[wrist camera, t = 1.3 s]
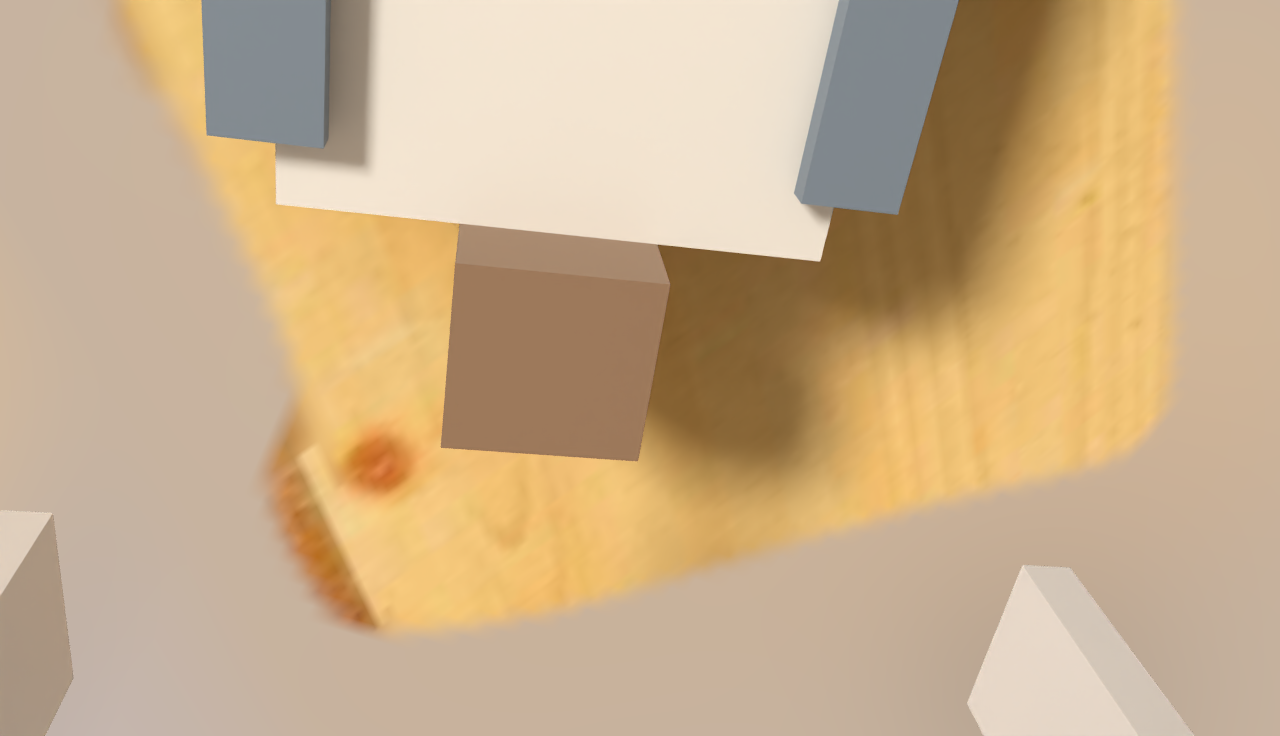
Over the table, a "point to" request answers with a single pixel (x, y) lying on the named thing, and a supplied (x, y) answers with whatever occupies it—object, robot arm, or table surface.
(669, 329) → the table surface
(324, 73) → the grey open box
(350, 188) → the lid
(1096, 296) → the table surface
